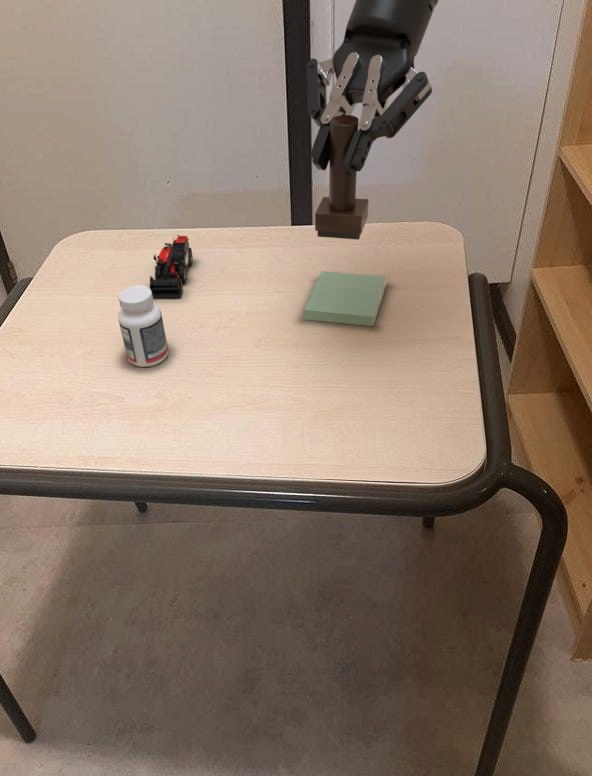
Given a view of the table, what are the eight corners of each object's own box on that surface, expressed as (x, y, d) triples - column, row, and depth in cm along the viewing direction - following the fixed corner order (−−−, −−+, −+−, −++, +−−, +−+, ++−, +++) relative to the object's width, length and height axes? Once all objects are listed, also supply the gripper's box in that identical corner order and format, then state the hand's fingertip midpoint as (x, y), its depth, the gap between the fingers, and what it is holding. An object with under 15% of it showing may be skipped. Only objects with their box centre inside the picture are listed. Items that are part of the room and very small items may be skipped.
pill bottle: (173, 344, 93) (162, 282, 86) (162, 368, 89) (151, 306, 83) (133, 342, 94) (120, 281, 87) (122, 367, 90) (107, 305, 84)
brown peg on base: (367, 223, 80) (373, 113, 72) (360, 241, 77) (366, 128, 69) (323, 220, 81) (323, 111, 73) (315, 237, 79) (315, 126, 70)
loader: (181, 299, 100) (176, 268, 97) (149, 299, 101) (143, 268, 98) (195, 256, 109) (191, 226, 105) (166, 256, 109) (161, 227, 106)
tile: (386, 286, 98) (386, 276, 97) (373, 326, 92) (373, 316, 91) (321, 280, 101) (321, 270, 100) (304, 319, 94) (303, 309, 93)
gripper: (322, -33, 71) (259, 141, 73) (458, -25, 64) (385, 165, 66) (347, 15, 77) (289, 173, 79) (472, 26, 71) (406, 197, 73)
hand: (333, 168), depth 73 cm, fingers closed on brown peg on base, 3 cm apart
